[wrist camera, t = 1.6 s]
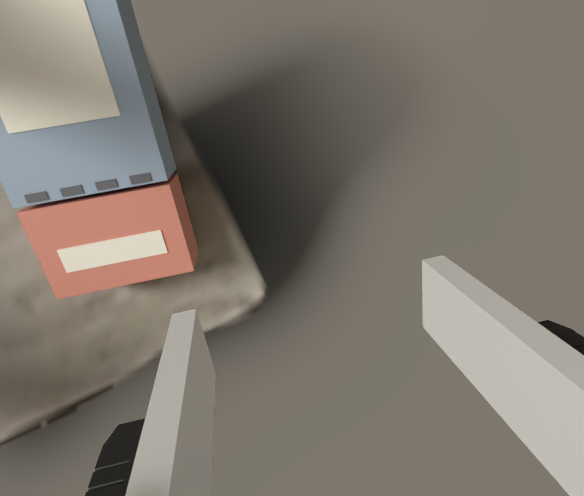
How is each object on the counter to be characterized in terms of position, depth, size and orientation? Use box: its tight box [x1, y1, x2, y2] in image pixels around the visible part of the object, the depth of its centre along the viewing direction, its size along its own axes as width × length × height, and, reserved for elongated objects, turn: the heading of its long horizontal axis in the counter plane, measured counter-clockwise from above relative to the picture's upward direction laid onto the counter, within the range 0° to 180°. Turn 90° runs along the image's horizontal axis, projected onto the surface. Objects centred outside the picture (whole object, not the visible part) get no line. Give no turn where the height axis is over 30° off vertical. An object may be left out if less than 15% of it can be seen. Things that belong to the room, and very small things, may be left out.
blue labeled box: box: [0, 0, 177, 208], centre depth 21 cm, size 9×14×4 cm, turn 9°
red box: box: [17, 173, 198, 299], centre depth 25 cm, size 9×6×4 cm, turn 99°
